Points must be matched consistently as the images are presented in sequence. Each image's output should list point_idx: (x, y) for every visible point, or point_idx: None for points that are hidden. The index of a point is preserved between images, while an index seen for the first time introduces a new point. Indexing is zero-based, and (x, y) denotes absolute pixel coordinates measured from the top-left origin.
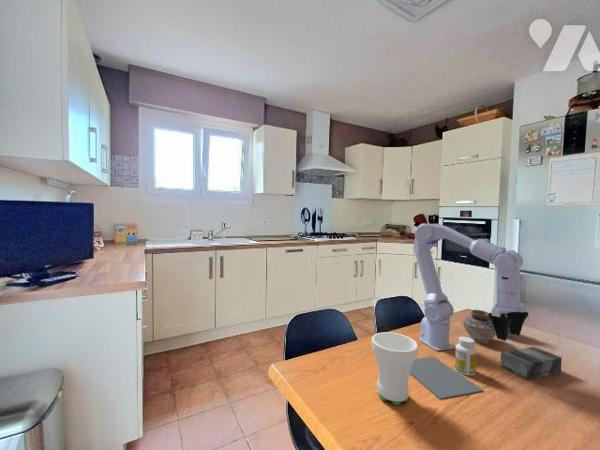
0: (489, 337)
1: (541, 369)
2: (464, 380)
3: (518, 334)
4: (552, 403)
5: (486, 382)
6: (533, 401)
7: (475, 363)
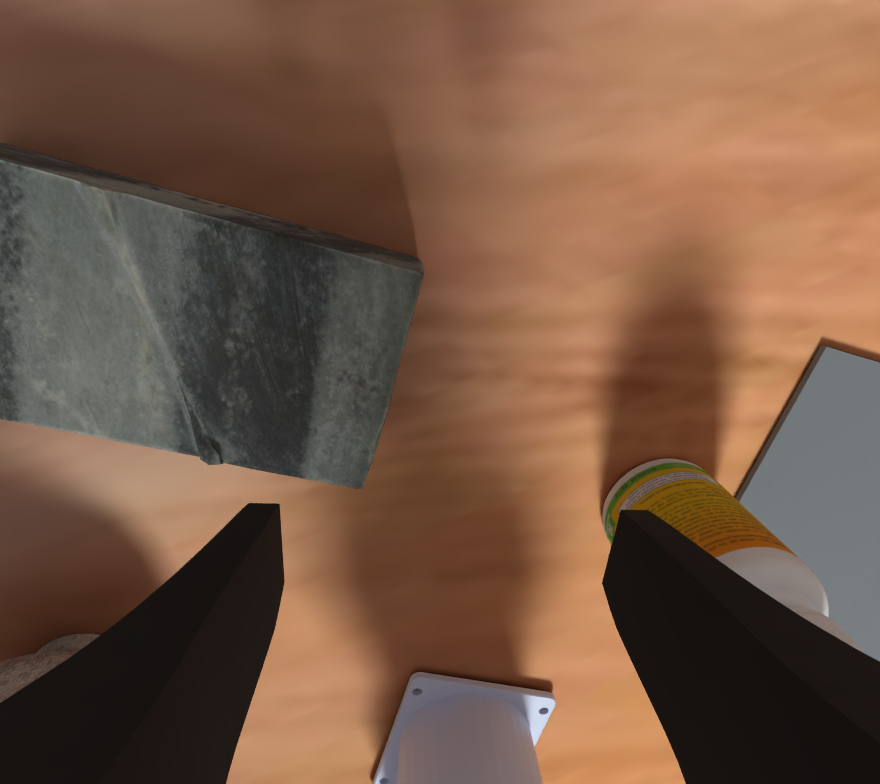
0: None
1: (242, 215)
2: (795, 452)
3: (277, 515)
4: (615, 19)
5: (692, 382)
6: (698, 114)
7: (702, 499)
